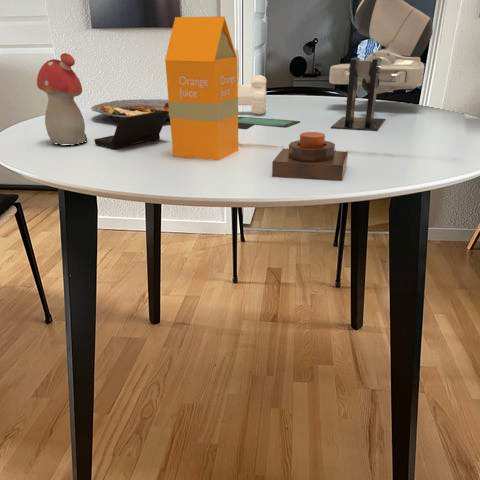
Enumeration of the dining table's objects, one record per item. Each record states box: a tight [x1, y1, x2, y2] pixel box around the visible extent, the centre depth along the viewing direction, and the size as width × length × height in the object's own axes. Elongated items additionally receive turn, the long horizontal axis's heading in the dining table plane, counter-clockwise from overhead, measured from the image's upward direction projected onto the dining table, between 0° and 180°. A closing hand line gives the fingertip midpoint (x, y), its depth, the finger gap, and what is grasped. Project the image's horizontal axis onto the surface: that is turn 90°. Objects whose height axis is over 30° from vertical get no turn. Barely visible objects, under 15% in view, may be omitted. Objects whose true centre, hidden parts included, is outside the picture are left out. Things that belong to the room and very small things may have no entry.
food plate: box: [90, 98, 170, 119], centre depth 116 cm, size 25×23×4 cm
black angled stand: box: [94, 110, 168, 149], centre depth 91 cm, size 12×7×10 cm
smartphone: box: [238, 116, 301, 130], centre depth 105 cm, size 7×1×15 cm
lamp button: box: [299, 131, 326, 148], centre depth 72 cm, size 4×4×2 cm
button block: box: [271, 139, 349, 182], centre depth 73 cm, size 10×8×4 cm
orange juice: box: [164, 16, 239, 161], centre depth 80 cm, size 8×9×20 cm
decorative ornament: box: [36, 52, 88, 145], centre depth 90 cm, size 9×7×15 cm
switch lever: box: [357, 59, 379, 93], centre depth 101 cm, size 14×4×4 cm, turn 159°
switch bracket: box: [330, 57, 386, 132], centre depth 98 cm, size 12×9×13 cm
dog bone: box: [238, 74, 268, 115], centre depth 117 cm, size 15×9×8 cm, turn 85°
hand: (371, 78), depth 105 cm, fingers open, 8 cm apart
